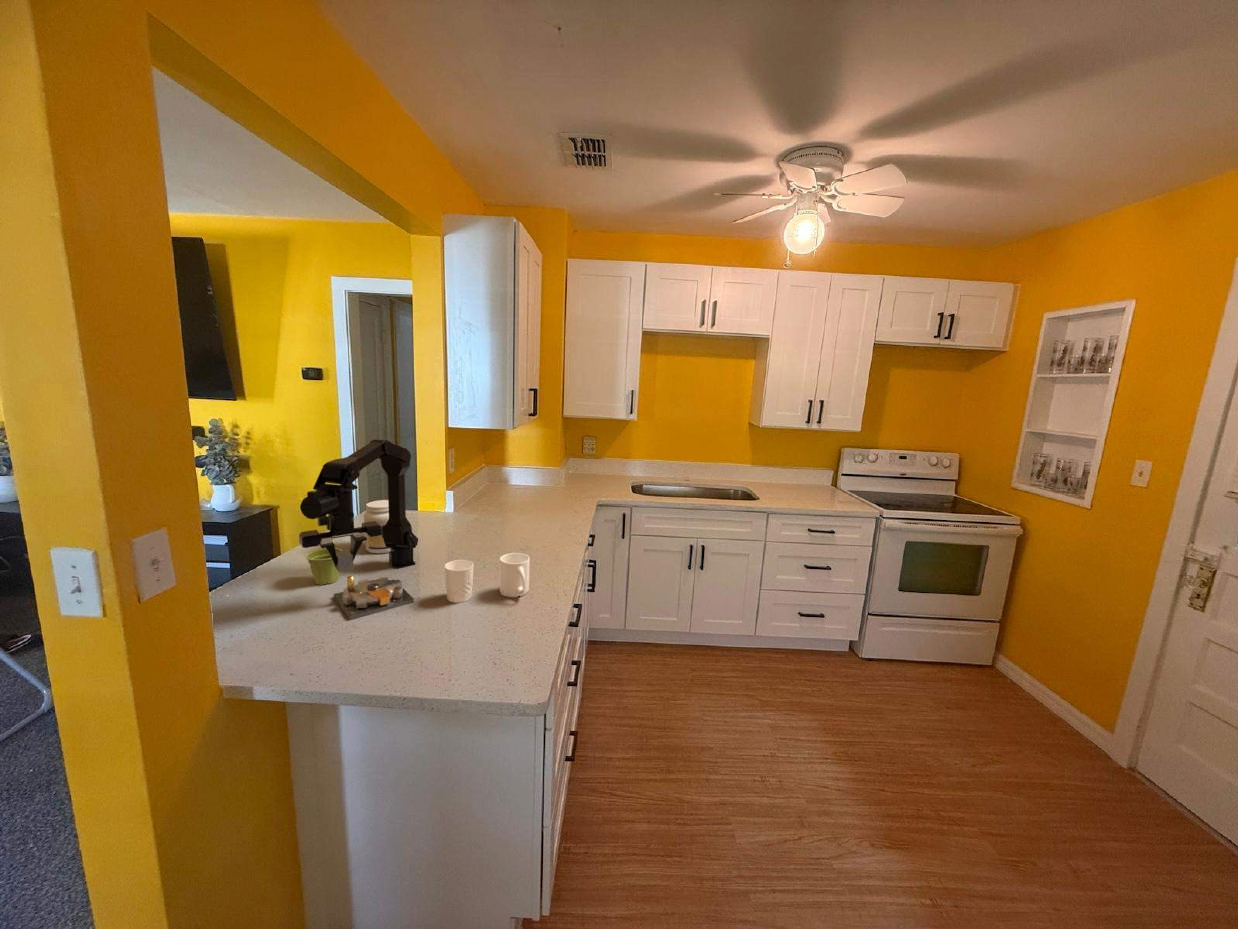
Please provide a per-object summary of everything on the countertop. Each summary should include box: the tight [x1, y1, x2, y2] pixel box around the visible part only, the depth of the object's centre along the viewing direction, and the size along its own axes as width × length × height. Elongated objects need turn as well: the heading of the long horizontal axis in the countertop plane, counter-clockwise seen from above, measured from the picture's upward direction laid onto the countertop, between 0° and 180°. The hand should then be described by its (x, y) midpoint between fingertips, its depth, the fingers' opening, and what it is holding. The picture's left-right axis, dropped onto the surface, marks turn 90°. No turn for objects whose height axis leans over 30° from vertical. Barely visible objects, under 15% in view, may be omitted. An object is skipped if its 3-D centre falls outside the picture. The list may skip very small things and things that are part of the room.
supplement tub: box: [363, 499, 391, 554], centre depth 165 cm, size 12×12×17 cm
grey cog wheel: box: [342, 575, 404, 608], centre depth 128 cm, size 15×15×6 cm
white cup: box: [444, 559, 475, 604], centre depth 132 cm, size 8×8×10 cm
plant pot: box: [305, 547, 343, 586], centre depth 138 cm, size 9×9×9 cm
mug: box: [499, 552, 531, 598], centre depth 136 cm, size 9×12×11 cm
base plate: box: [333, 579, 415, 621], centre depth 129 cm, size 16×16×1 cm
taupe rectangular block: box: [334, 549, 354, 573], centre depth 125 cm, size 4×5×4 cm
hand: (343, 563), depth 125 cm, fingers closed on taupe rectangular block, 3 cm apart
